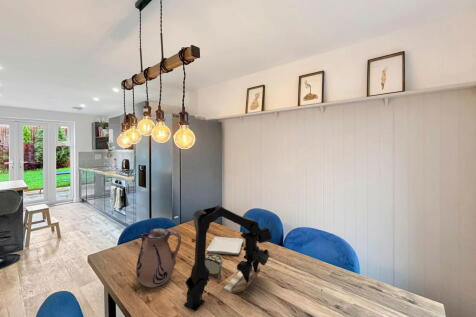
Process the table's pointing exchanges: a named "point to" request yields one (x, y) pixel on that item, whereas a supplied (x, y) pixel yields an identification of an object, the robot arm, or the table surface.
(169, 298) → the table surface
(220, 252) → the salad plate
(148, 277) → the ceramic pitcher
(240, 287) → the board
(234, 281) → the ash board
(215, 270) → the food container
